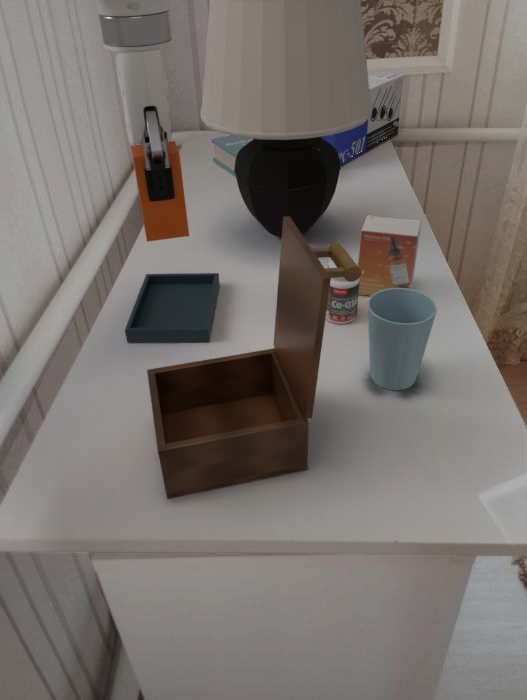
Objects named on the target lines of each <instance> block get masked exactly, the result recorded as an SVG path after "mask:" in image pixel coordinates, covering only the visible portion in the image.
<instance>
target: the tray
mask: <svg viewBox="0 0 527 700" xmlns="http://www.w3.org/2000/svg"><path fill="white" fill-rule="evenodd" d="M220 285H221V284H220V274H219V272H206V273H205V272H202V273H201V272H199V273H198V272H197V273H195V272H194V273H192V272H191V273H146V275H145V276H144V279H143V281H142V284H141V287H140V290H139V292H138V294H137V297H136V300H135V303H134V305H133V308H132V310H131V313H130V316H129V318H128V321H127V324H126V326H125V329H124V334H125V338H126V342H127V344H139V343H140V344H143V343H144V344H145V343H147V344H149V343H151V344H152V343H157V344H158V343H159V344H160V343H162V344H163V343H165V344H166V343H169V344H170V343H171V344H173V343H210V341H211V335H212V329H213V325H214V324H213V323H214V318H215V312H216V308H217V302H218V296H219V291H220Z"/></svg>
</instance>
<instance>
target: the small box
mask: <svg viewBox="0 0 527 700" xmlns="http://www.w3.org/2000/svg"><path fill="white" fill-rule="evenodd" d="M421 228H422V220H421V219H406V218H396V217H395V218H394V217H386V216H385V217H383V216H376V215H371V214H370V215H369V214H367V215H366V217H365V220H364V222H363V225H362V227H361V229H360V236H359V237H360V239H359V249H358V250H359V251H358V258H357V260H358V261H357V262H358V267H359V268H360V269H361V275H360V277H359V292H358V295H360V296H363V295H364V296H369V297H371V296H372V295H373V294H374V293H376V292H378V291H381V290H384V289H389V288H407V289H413V283H414V276H415V275H414V274H415V270H416V269H415V268H416V263H417V262H416V261H417V257H418V256H417V254H418V247H419V242H420V235H421Z"/></svg>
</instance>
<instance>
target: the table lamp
mask: <svg viewBox="0 0 527 700" xmlns="http://www.w3.org/2000/svg"><path fill="white" fill-rule="evenodd" d="M361 1H362V0H209V9H208V21H207V22H208V23H207V34H206V47H205V60H204V76H203V88H202V89H203V90H202V101H201V102H202V103H201V109H200V120H201V121H202V123H203V124H204V125H205V126H206V127H208V129H211V130H213V131H216V132H218V133H220V134H224V135H227V136H230V135H233V136H237V137H244V138H253V140H252V141H250V142H249V143H247V144H246V145H245V146H243V147H242V148H241V149H240V151H239V152H238V154H237V156H236V160H235V169H234V172H235V174H236V177H235V179H236V183H237V187H238V190H239V193H240V196H241V198H242V201H243V203H244V204H245V205H244V206H246V209H247V210H248V212H249V213H250V214H251V215H252V216H253V217H254V219H255V220H256V221H257V222H258V223H259V224H260V225H261V227H263V229H264V230H266V231H267V232H268V233H269V234H271V235H272V236H275V237H280V238H282V226H283V217H287V216H290V218H291V219H292V221H293V222H294V224H295V225H296V227H297V228H298V230H299V231H300V233H301V234H302V235H305V234H306V233H307V232H308V231H309V230H310V229H311V228H312V227H313V226H314V225H315V224H316V223H317V222H318V221H319V219H320V218H321V217H322V216H323V215H324V214H325V212H326V211H327V209H328V207H329V206H330V204H331V203H332V200H333V197H334V196H335V192H336V189H337V186H338V182H339V176H340V172H341V170H342V168H341V167H342V166H340V159H339V155H338V152H337V150H336V149H335V148H334V147H333V146H332V145H331V144H330V143H328V142H327V141H325V140H324V139H322V138H321V136H328V135H333V134H337V133H341V132H344V131H348V130H351V129H353V128H356V127H358V126H360V125H362V124H364V123H365V122H366V121H367V120H368V119H369V118H370V116H371V115H372V105H371V99H370V91H369V82H368V77H369V73H368V62H367V61H368V60H367V51H366V41H365V30H364V23H363V13H362V2H361Z"/></svg>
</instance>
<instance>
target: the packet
mask: <svg viewBox="0 0 527 700" xmlns="http://www.w3.org/2000/svg"><path fill="white" fill-rule="evenodd" d="M166 143H167V141H166ZM130 149H131V156H132V162H133V168H134V169H133V170H134V174H135V180H136V186H137V192H138V197H139V204H140V211H141V216H142V223H143V227H144V234H145V239H146V242H147V243H148V242H154V241H162V240H169V239H176V238H177V239H178V238H183V237H189V236H190V231H189V223H188V213H187V206H186V198H185V197H186V196H185V189H184V181H183V172H182V164H181V157H180V150H179V149H178V146H177V142H176V140H170V142H169V143H167V152H168V158H169V165H170V166H171V169H172V176H173V184H174V192H175V198H174V199H169V200H162V201H154V202H151V201H150V200H149V196H148V190H147V184H146V177H145V171H144V169H146V163H145V157H144V151H143V147H142V145H141V144H136V147H134V146H132V145H130ZM150 151H151V148H148V153H149V152H150Z"/></svg>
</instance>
